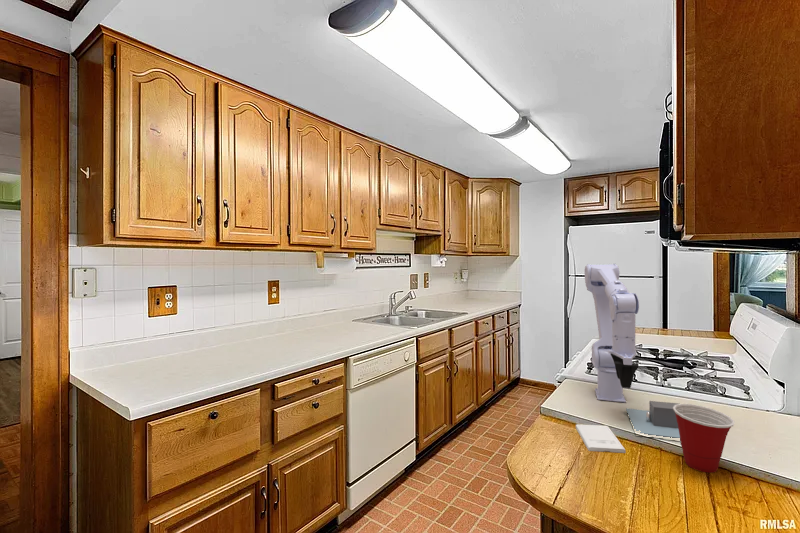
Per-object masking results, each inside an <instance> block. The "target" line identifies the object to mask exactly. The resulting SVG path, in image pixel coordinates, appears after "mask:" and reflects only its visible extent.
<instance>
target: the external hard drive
mask: <svg viewBox="0 0 800 533" xmlns="http://www.w3.org/2000/svg"><path fill="white" fill-rule="evenodd" d="M575 429H576V431H577V432H578V434H579V436H580V438H581V440H582V441H583V443H584V446H585V447H586V448H587V450H588V452H600V453H601V452H603V453H604V452H609V453H615V454H616V453H619V454H621V453H622V454H626V449H625V447H624V446H623V445H622V443H621V442H620V440H619V439H618V438H617V436H616V435H615V434H614V432H613V431H612V430H611V429H610V427H609V426H608V425H601V424H600V425H596V424H578V423H576V424H575Z"/></svg>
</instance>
